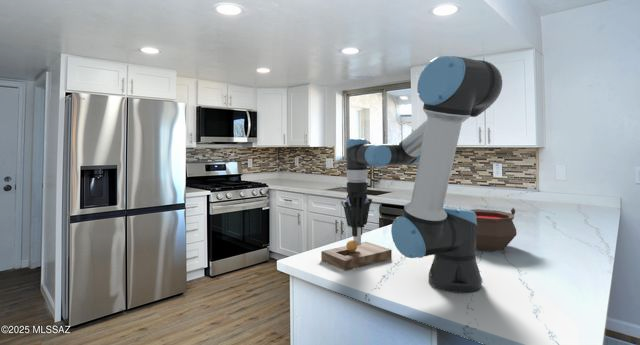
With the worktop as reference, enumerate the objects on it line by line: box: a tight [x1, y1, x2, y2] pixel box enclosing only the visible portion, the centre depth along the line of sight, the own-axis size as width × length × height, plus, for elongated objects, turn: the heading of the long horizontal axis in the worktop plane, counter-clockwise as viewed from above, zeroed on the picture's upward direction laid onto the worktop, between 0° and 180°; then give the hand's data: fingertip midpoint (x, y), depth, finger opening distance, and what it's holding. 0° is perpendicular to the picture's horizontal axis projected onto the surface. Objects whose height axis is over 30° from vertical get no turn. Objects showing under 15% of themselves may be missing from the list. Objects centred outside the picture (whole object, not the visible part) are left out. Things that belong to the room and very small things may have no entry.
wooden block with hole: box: [320, 241, 393, 272], centre depth 132 cm, size 22×14×4 cm, turn 124°
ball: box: [345, 239, 357, 252], centre depth 130 cm, size 4×4×4 cm
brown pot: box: [470, 207, 517, 252], centre depth 147 cm, size 24×24×16 cm
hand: (357, 244), depth 132 cm, fingers closed
